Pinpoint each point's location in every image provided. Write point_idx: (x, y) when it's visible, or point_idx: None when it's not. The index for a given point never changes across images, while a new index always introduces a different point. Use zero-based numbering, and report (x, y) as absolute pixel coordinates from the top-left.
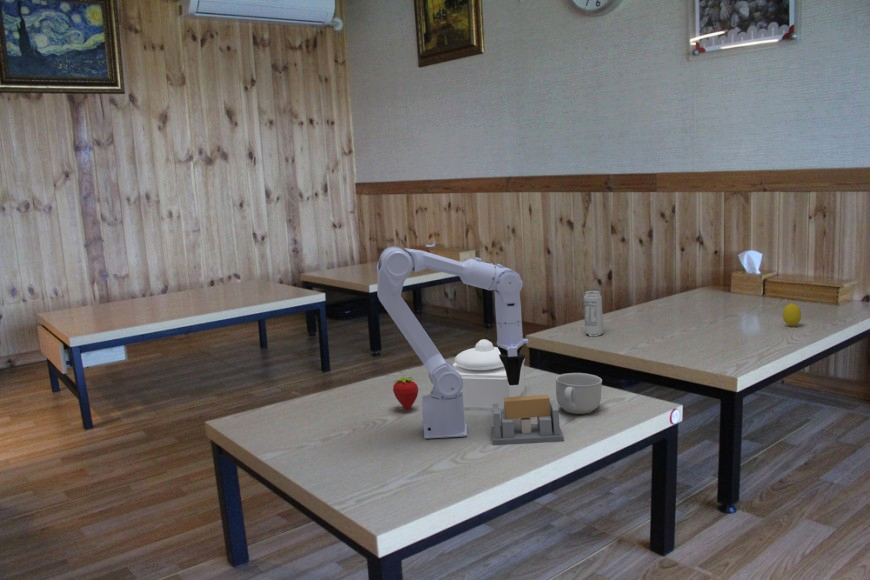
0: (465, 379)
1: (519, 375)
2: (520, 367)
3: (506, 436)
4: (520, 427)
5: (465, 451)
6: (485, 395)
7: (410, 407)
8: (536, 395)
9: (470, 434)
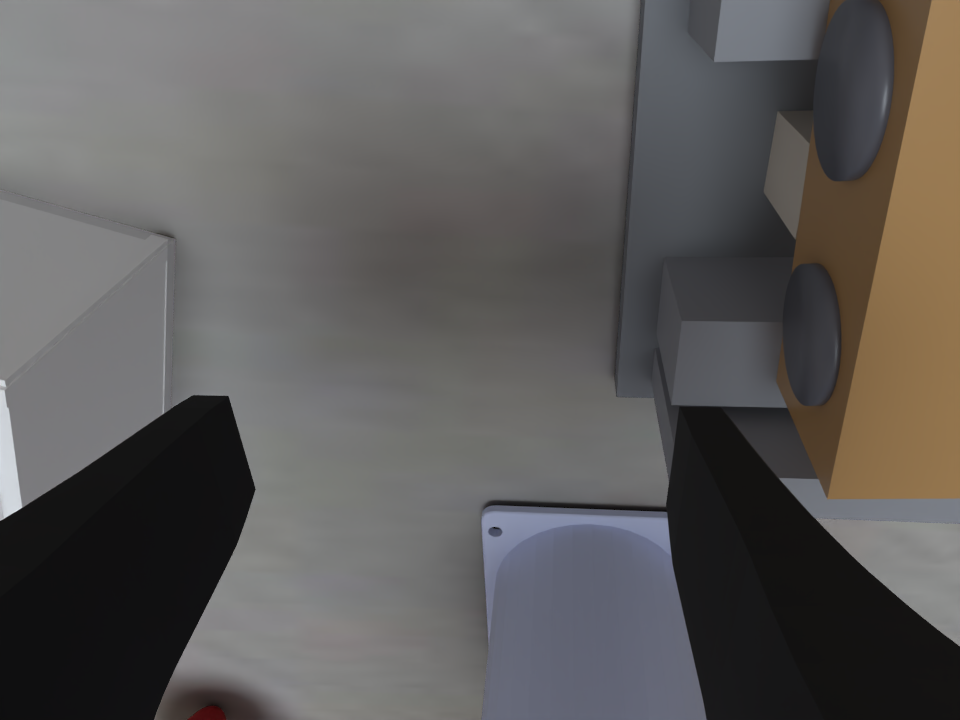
0: None
1: (793, 496)
2: (922, 623)
3: None
4: (708, 194)
5: (951, 524)
6: None
7: (217, 715)
8: (922, 117)
9: (655, 489)
